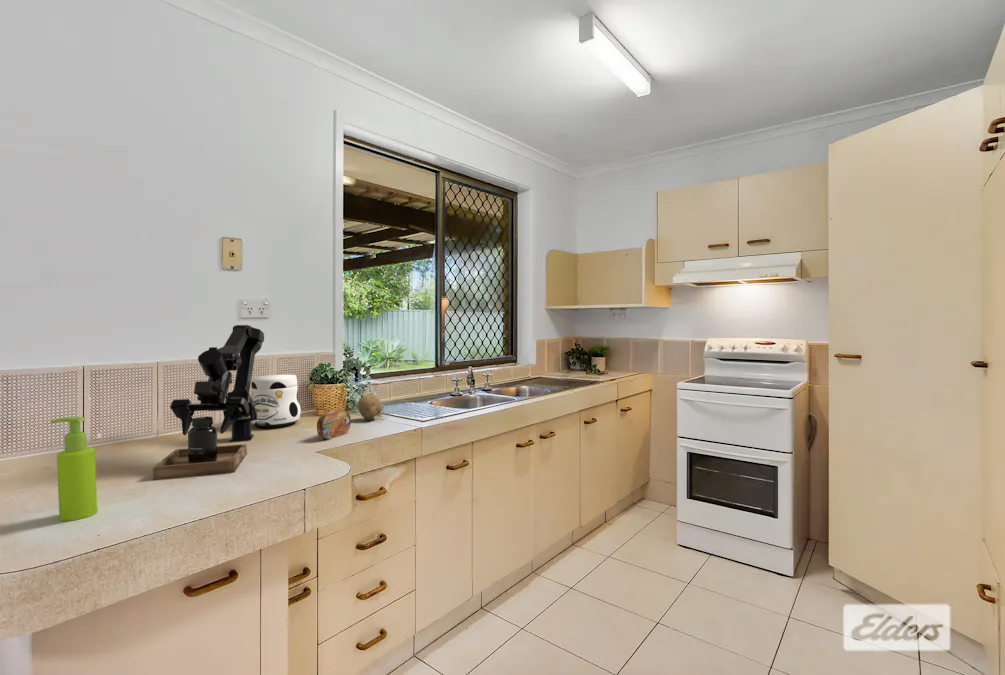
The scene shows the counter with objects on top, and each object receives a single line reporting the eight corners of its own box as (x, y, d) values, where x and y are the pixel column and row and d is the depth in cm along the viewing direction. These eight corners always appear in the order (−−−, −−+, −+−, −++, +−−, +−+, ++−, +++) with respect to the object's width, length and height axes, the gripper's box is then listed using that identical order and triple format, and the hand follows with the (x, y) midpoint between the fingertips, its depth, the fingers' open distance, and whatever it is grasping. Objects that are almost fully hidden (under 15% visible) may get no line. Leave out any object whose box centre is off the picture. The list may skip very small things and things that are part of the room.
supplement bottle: (189, 467, 130) (188, 421, 130) (187, 461, 136) (185, 417, 135) (219, 462, 134) (218, 418, 134) (216, 457, 140) (214, 414, 139)
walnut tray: (176, 459, 141) (175, 449, 141) (247, 454, 146) (246, 444, 146) (153, 479, 124) (152, 467, 124) (234, 472, 129) (234, 460, 129)
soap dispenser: (69, 510, 104) (64, 415, 103) (104, 509, 105) (100, 414, 104) (45, 521, 98) (41, 421, 98) (83, 520, 99) (79, 420, 98)
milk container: (250, 432, 175) (248, 380, 174) (249, 423, 190) (248, 375, 189) (303, 426, 183) (302, 377, 182) (298, 418, 198) (297, 373, 197)
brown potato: (372, 416, 200) (371, 392, 200) (387, 419, 195) (386, 393, 194) (353, 420, 193) (353, 395, 192) (368, 423, 188) (368, 397, 187)
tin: (323, 442, 160) (322, 416, 160) (315, 441, 161) (314, 415, 161) (351, 431, 175) (351, 407, 174) (344, 431, 176) (343, 407, 175)
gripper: (171, 370, 137) (152, 418, 127) (244, 368, 141) (231, 415, 130) (185, 394, 146) (168, 441, 135) (254, 392, 149) (242, 438, 138)
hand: (202, 433), depth 135 cm, fingers open, 9 cm apart
